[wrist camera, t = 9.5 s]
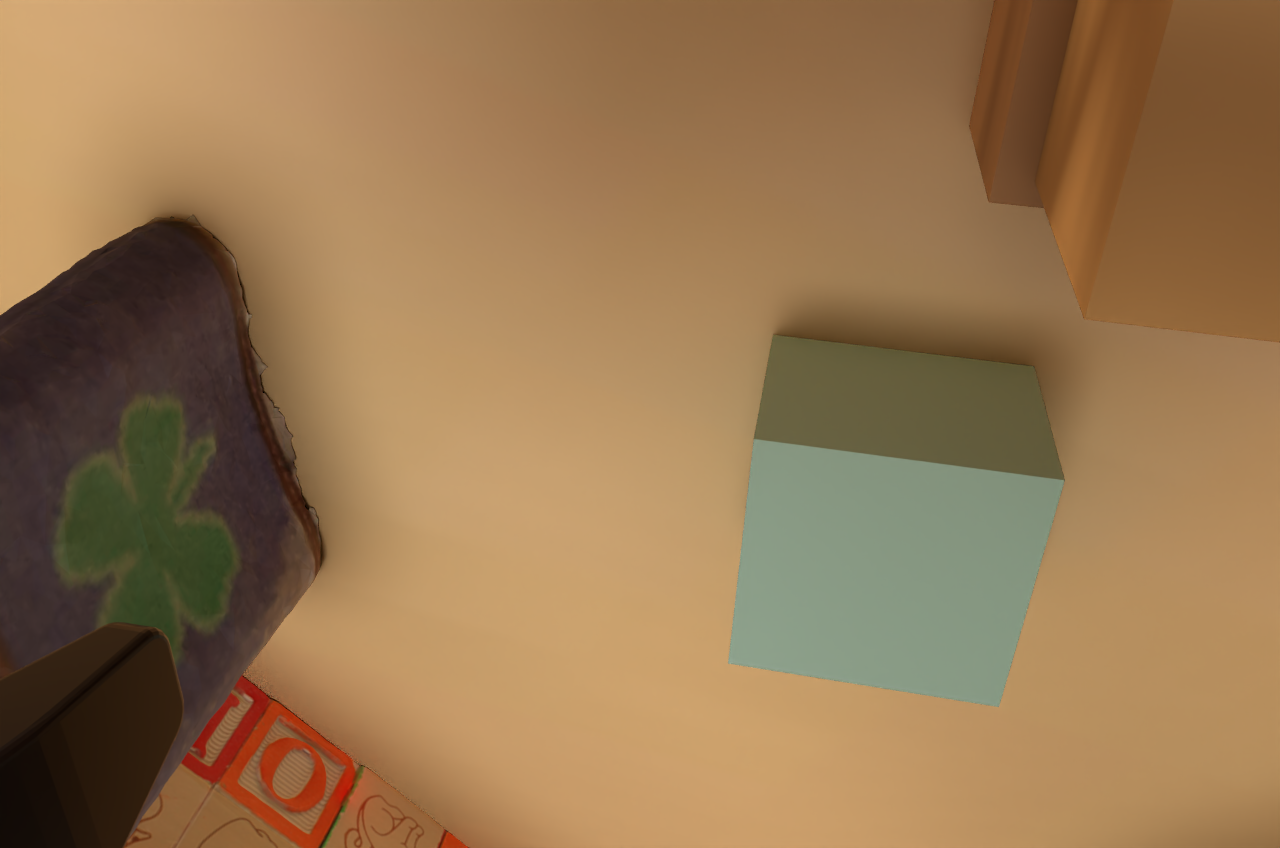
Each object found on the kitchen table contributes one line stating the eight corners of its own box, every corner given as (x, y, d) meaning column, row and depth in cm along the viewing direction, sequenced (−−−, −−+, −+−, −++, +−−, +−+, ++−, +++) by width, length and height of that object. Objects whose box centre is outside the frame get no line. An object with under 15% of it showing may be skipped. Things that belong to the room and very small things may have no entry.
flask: (340, 582, 26) (51, 1009, 17) (229, 578, 27) (-106, 989, 18) (226, 207, 22) (-247, 515, 13) (97, 213, 22) (-441, 512, 13)
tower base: (1033, 363, 20) (1064, 480, 17) (980, 569, 23) (998, 706, 19) (773, 331, 21) (753, 439, 18) (749, 534, 23) (728, 663, 20)
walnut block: (1390, -187, 15) (1536, -176, 12) (1273, 153, 18) (1365, 241, 14) (1035, -206, 16) (1077, -203, 13) (969, 123, 18) (988, 201, 15)
